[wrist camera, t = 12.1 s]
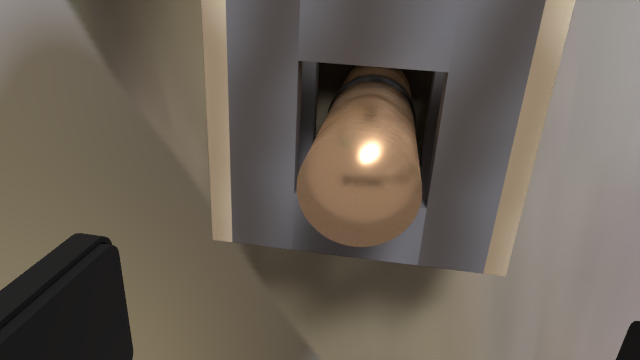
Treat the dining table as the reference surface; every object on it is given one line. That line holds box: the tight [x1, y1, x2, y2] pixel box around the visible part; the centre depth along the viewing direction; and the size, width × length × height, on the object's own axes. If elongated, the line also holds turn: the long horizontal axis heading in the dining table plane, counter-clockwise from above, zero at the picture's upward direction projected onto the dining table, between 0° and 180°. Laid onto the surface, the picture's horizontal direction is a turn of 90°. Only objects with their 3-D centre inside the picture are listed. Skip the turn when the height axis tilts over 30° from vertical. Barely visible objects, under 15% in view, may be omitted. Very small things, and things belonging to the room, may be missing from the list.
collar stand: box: [201, 0, 575, 276], centre depth 24 cm, size 14×12×8 cm
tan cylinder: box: [297, 65, 422, 247], centre depth 21 cm, size 4×4×14 cm
